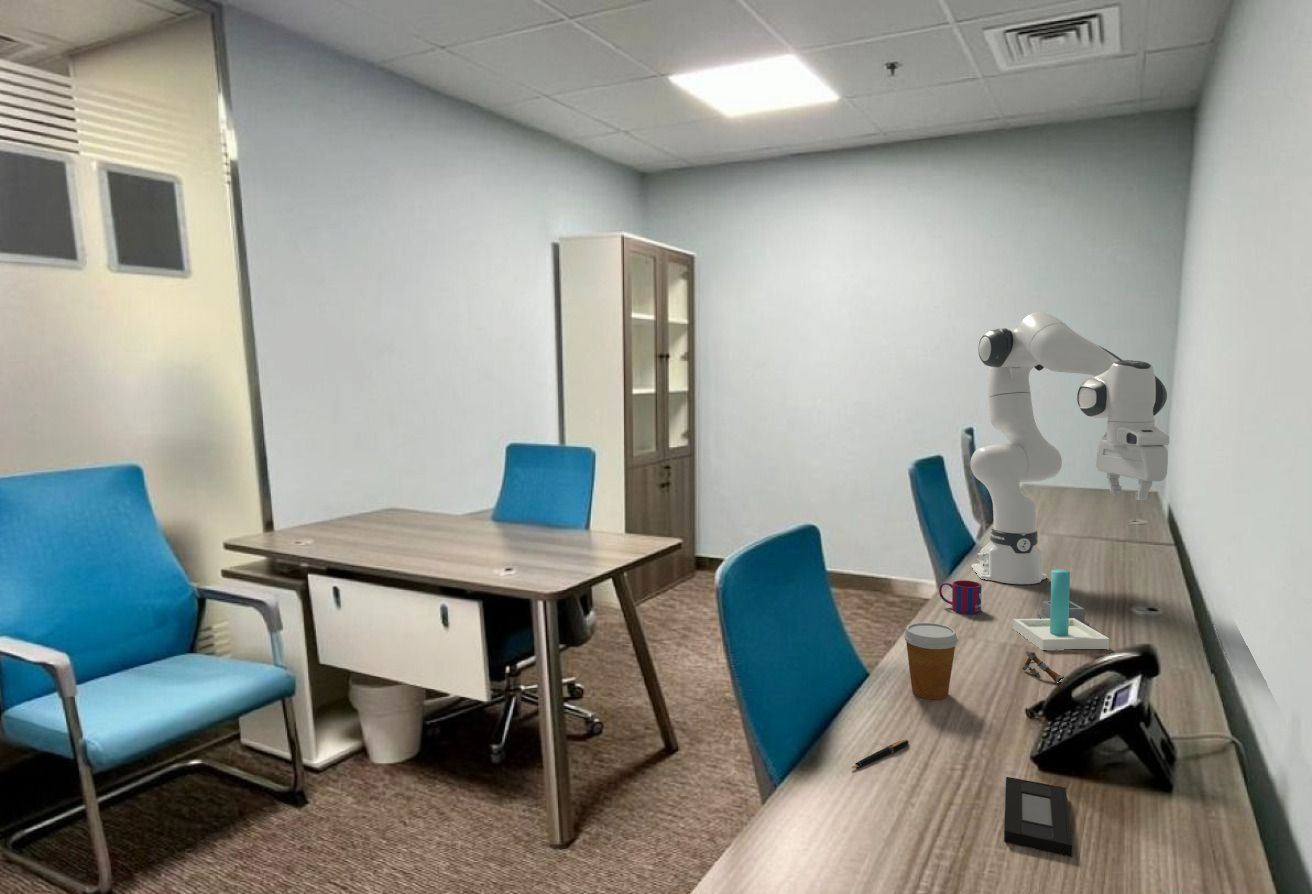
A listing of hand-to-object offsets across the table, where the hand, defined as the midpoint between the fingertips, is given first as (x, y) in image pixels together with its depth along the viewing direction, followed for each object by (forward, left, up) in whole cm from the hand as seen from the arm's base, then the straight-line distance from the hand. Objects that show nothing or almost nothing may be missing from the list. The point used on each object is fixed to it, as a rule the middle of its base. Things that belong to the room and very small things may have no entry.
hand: (1128, 496), depth 168 cm
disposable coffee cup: (+31, -54, -31) cm, 70 cm away
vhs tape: (+72, -54, -32) cm, 95 cm away
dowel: (+3, -16, -30) cm, 34 cm away
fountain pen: (+55, -70, -32) cm, 94 cm away
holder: (-9, -9, -31) cm, 34 cm away
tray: (+3, -16, -31) cm, 35 cm away
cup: (-20, -29, -31) cm, 47 cm away
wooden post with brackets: (+25, -30, -32) cm, 50 cm away
